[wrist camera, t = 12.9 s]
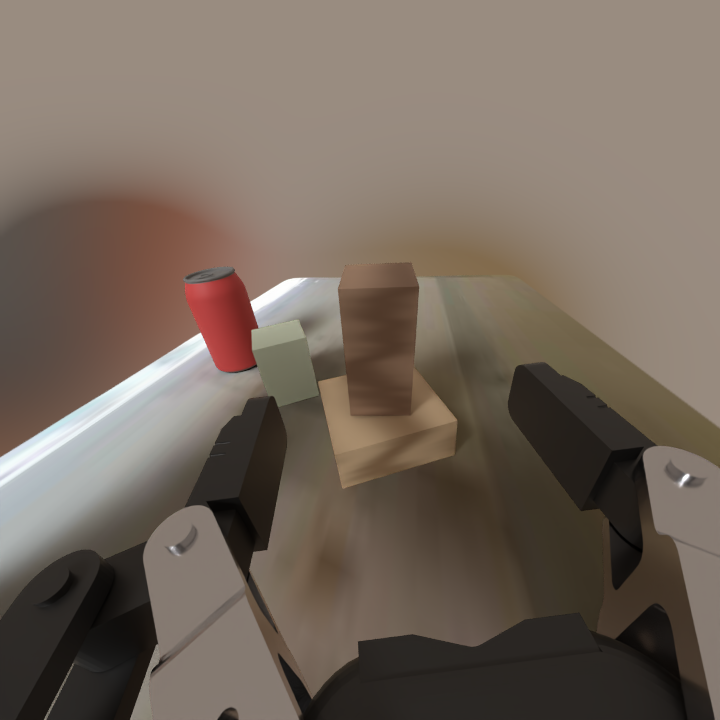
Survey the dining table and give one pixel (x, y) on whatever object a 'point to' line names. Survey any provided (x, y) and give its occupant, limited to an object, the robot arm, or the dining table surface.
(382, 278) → the walnut pillar
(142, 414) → the dining table surface
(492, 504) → the dining table surface
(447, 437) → the oak base block
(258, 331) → the sage green block
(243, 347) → the beer can
